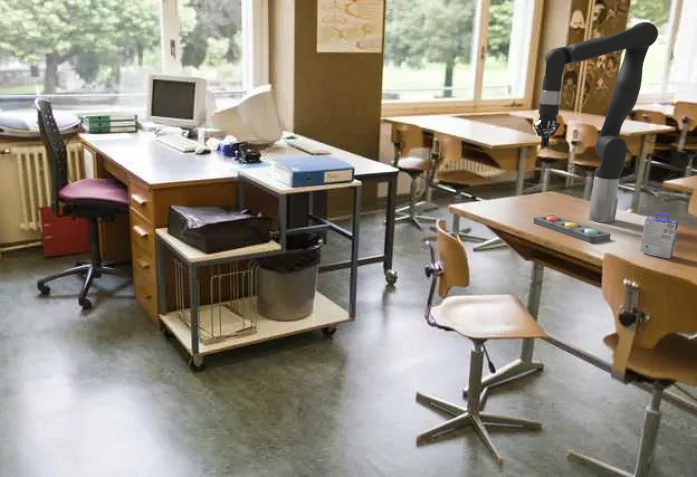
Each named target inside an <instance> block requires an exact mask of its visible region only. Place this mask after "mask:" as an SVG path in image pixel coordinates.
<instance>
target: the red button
mask: <svg viewBox="0 0 697 477" xmlns="http://www.w3.org/2000/svg"><path fill="white" fill-rule="evenodd" d="M546 216H547V217H546V220H547V221H550V222H558V221H559V218H558V217H559V216H557V217H555V216H556V215H554V216H549V215H546Z"/></svg>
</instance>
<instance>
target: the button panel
mask: <svg viewBox="0 0 697 477" xmlns="http://www.w3.org/2000/svg"><path fill="white" fill-rule="evenodd" d="M547 216H555V217H558V218H559V221H558V222H550V221H547V220H546V217H547ZM565 222H573V223H577V224H578V228H573V229H571V228H568V227H565ZM533 225H536V226H538V227H539V226H540V227H543V228H545V229H547V230H551V231H553V232H556V233H560V234H562V235H565V236H568V237H571V238H574V239H577V240H580V241H583V242H586V243H588V244H595V243H600V242H605V241H606V242H607V241H610V240H611V235H612V234H611V233H610V232H606V231H603V230H601V229H597V228H595V227H591V226H588V225H585V224H581V223H578V222H575V221H572V220H569V219H566V218H562V217H560V216H558V215H557V216H556V215H554V214H549V215H545V216H543V215H542V216H539V217H538V216H537V217H534V218H533ZM587 228H590V229H596V230H598V234H597V235H589V234H586V233H584V230H585V229H587Z"/></svg>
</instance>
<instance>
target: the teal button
mask: <svg viewBox="0 0 697 477" xmlns="http://www.w3.org/2000/svg"><path fill="white" fill-rule="evenodd" d="M596 229H597V228H595V229H590V228H587V229H585V230H584V233H586V234H589V235H597V234H598V230H599V229H598V230H596Z"/></svg>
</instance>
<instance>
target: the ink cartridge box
mask: <svg viewBox="0 0 697 477" xmlns="http://www.w3.org/2000/svg"><path fill="white" fill-rule="evenodd" d="M662 215H665V216H662ZM669 218H670V213H669V212H665V211H657V214H656V216H655V217H654V216H647V217H646V218H645V220H644V224H643V226H644V227H643V231H642V236H641V242H640V249H639V252H641V253H642V255H643V254H644V255H649V256H654V257H659V258H664V259H671V258H672V257H673V253H674V248H675V244H676V238H677V231H678V228H679V227H678V226H679V220H674V219H669Z"/></svg>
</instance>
